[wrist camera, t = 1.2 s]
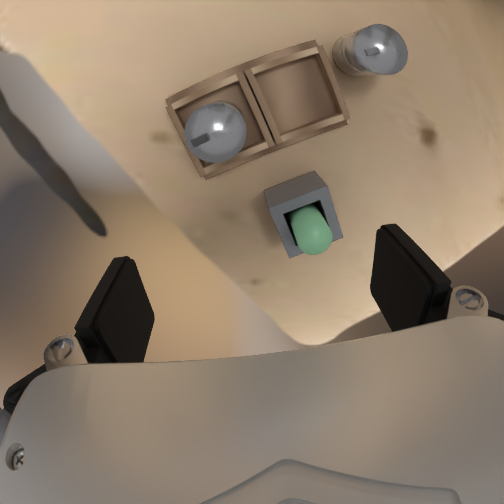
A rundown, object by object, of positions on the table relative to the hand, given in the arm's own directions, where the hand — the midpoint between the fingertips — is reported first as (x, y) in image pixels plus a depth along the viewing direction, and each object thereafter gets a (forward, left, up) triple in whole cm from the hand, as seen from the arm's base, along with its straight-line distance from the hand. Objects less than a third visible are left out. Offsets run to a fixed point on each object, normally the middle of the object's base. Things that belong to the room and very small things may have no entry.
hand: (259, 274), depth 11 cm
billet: (-14, -6, -20) cm, 25 cm away
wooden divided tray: (-3, -4, -20) cm, 21 cm away
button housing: (-3, +7, -20) cm, 22 cm away
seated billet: (+1, -4, -19) cm, 20 cm away
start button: (-3, +7, -18) cm, 20 cm away
